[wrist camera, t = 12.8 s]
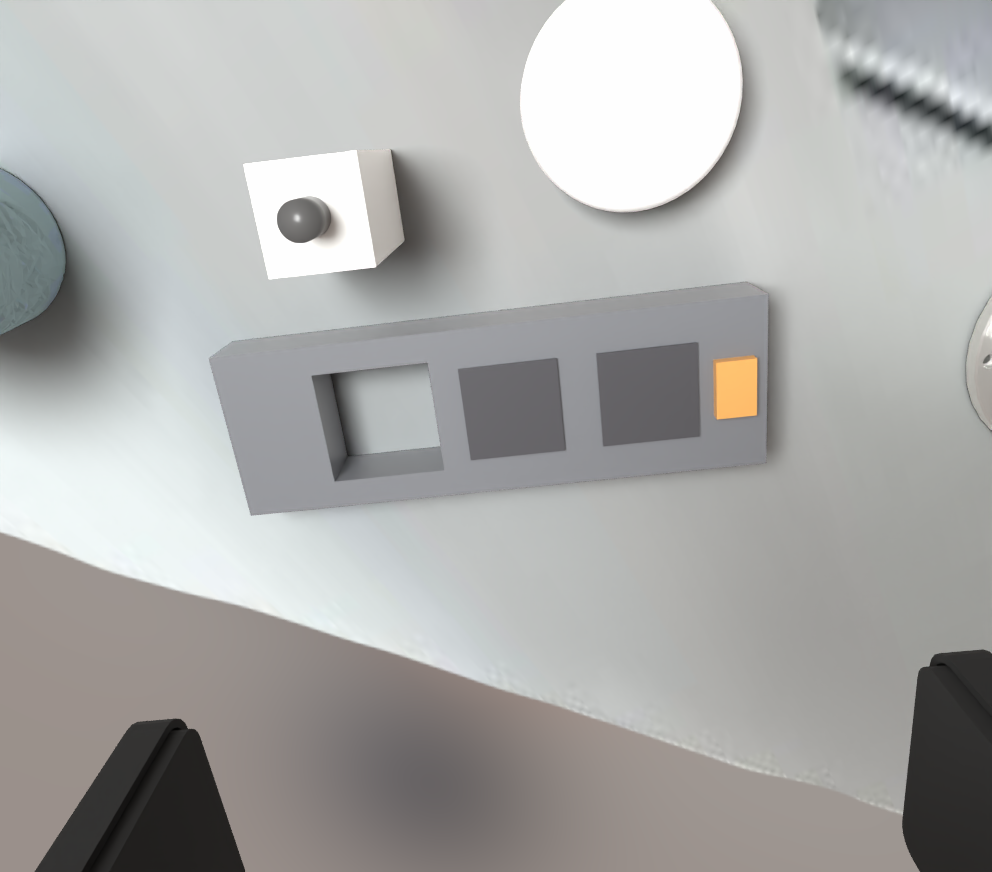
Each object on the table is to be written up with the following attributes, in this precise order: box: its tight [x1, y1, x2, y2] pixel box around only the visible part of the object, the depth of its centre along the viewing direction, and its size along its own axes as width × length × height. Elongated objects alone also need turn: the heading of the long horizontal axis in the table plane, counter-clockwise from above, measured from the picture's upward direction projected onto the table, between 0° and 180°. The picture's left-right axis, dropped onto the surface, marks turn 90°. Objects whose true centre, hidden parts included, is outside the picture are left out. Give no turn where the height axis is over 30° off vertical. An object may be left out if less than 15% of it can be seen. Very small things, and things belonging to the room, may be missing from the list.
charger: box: [243, 149, 405, 279], centre depth 33 cm, size 4×4×11 cm
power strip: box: [209, 282, 769, 516], centre depth 40 cm, size 28×9×4 cm, turn 97°
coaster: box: [520, 0, 743, 213], centre depth 35 cm, size 10×10×4 cm
